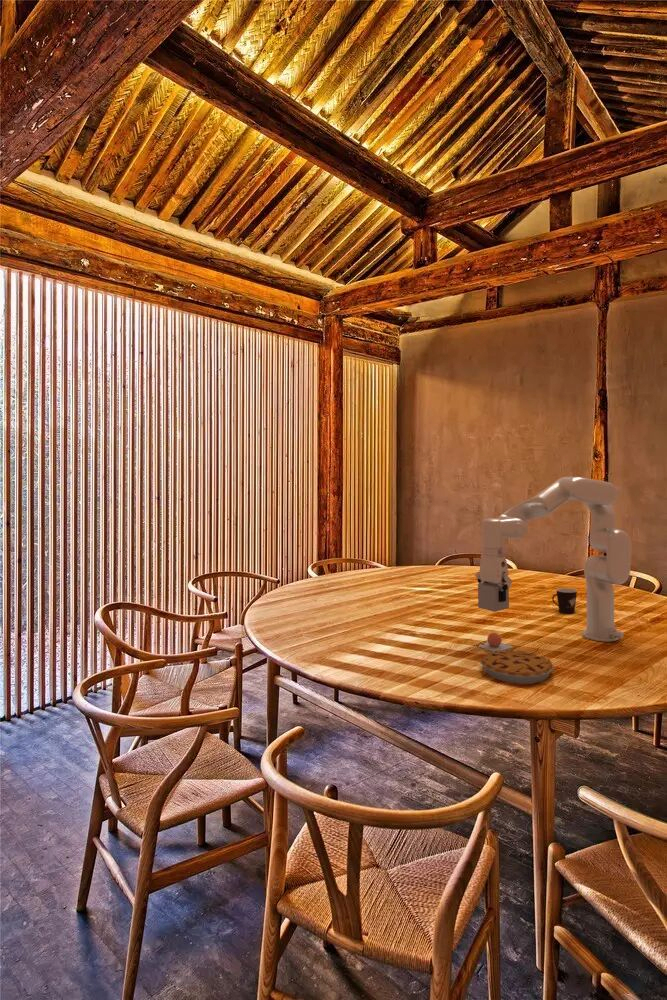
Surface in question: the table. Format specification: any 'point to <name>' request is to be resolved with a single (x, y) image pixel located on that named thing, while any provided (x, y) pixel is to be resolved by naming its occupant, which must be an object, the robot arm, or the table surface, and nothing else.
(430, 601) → the table surface
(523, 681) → the pie
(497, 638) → the ball
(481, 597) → the grey block
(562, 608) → the coffee mug
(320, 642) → the table surface
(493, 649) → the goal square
